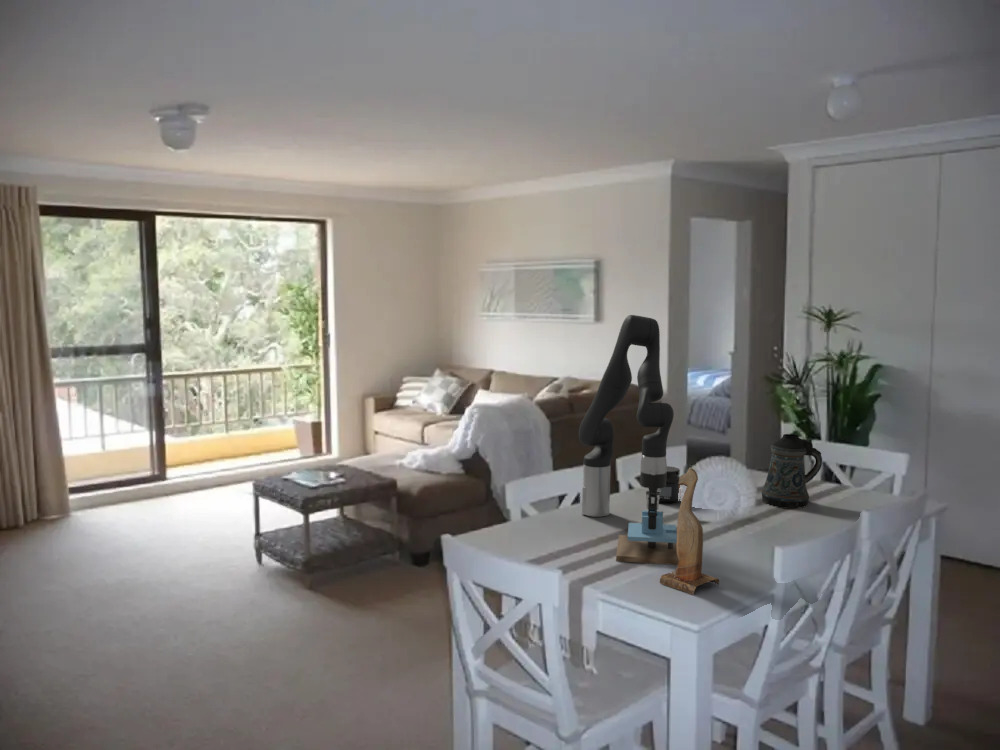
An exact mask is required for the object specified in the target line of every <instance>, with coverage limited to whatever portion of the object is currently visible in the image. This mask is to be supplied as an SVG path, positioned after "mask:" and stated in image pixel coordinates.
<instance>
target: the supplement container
mask: <svg viewBox="0 0 1000 750" xmlns="http://www.w3.org/2000/svg"><path fill="white" fill-rule="evenodd" d="M680 476H681V469H680V468H679V467H675V466H668V465H667V473H666V486H665V487H664V488H658V489H657V492H660V499H659V504H663V505H673V504H678V503H679V502H680V501H678V493H679V488H680V485H679V484H678V483H679V478H680Z"/></svg>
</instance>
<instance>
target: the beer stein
mask: <svg viewBox="0 0 1000 750" xmlns="http://www.w3.org/2000/svg"><path fill="white" fill-rule="evenodd" d="M799 436H800V435H798V434H793V433H792V434H791V433H784V434H783V435H782V437H780V439H778V440H777V441H774V442H773V443H772V444H771V445H770V451H771V458H770V462H769V467H768V472H767V476H766V480H765V482H764V485H763V488H762V489H761V497H762V499H761V500H762V502H763V504H765V505H767V504H769V505H768V506H771V505H773V506H772V507H775V506H778V507H777V508H781V507H787V508H786V509H799V508H798V507H802V508H805V507H807V506H808V503H809V499H810V495H809V492H808V488H807V486H806V484H807V483H809V482H811V480H813V479H814V478H815V476H817V475H818V473H819V472H820V470H821V468H822V465H823V457H822V452H821V451H820V450H818V449H817V448H816V447H813V446H814V445H813V443H812V442H811V441H810V440H808V439H802V438H800V437H799ZM805 456H812V457H814V459H815V463H814V465H813V467H812V468H811V469H810V470H809V471H808V472H807V473H806V471H805V469H806V468H805V459H804V458H805ZM806 505H807V506H806ZM804 506H805V507H804Z"/></svg>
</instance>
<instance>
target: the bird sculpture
mask: <svg viewBox="0 0 1000 750" xmlns="http://www.w3.org/2000/svg"><path fill="white" fill-rule="evenodd" d="M679 476H680V478H679V483H678V484H679V485H681V486H685V487H686V489H685V491H684V493H683V496H682V500H681V502H680V506H679V510H678V515H677V524H676V525H677V526H676V533H677V556H678V560H679V564H678V565H676V568H675V570H673V571H672V572H668V573H665V574H661V575H660V578H659V584H660V585H663V586H666V587H670V588H672V589H675V590H678V591H681V592H684V593H686V594H689V595H694V594H695V590H696V589H697V587H698V586H701V585H703V584H706V583H710V584H711V583H712V584H713V583H714V584H715V585H718V586H720V579H719V578H717V577H715V576H711V575H708V574H704V573H702V571H703V570H702V569H703V568H702V567H703V553H704V550H703V549H704V530H703V526H702V523H700V520H699V518H698V517H697V516H696V515H695V513H694V512H693V511H692V509H693V499H694V493H695V490H696V487H697V483H698V481H699V477H698V473H697V471H696V470H695V469H694V468H693V467H689V468H688V470H687V472H686V473H683V474H682V475H681V474H680V475H679Z"/></svg>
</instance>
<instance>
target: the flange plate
mask: <svg viewBox="0 0 1000 750" xmlns="http://www.w3.org/2000/svg"><path fill="white" fill-rule="evenodd" d="M650 512H655V511H650ZM663 513H664V512H663V511H658V510H657V517H656V529H655V530H653V529H649V528H648V510H642V511H641V522H628V528H627V529H628V530H627V536H628V541H646V542H666V543H677V526H676V525H677V524H666V523H665V524H664V517H663Z"/></svg>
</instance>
